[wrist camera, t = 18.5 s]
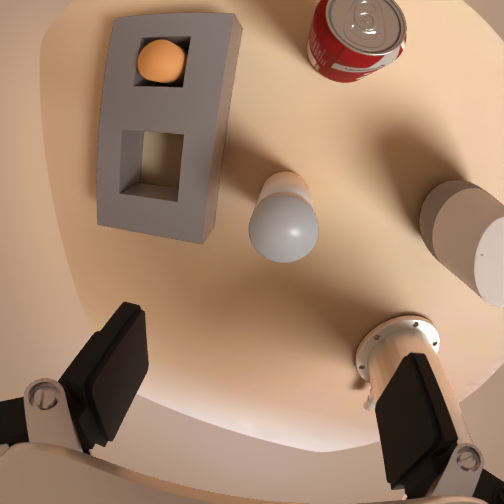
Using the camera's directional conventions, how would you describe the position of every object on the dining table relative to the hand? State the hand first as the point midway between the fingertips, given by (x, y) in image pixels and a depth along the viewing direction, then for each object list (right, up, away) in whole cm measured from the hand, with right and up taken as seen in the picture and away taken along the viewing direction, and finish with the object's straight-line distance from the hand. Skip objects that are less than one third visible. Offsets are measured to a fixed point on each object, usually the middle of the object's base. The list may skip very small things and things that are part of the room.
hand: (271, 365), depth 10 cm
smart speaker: (+22, +8, +21) cm, 31 cm away
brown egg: (-8, +23, +17) cm, 29 cm away
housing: (-9, +17, +20) cm, 28 cm away
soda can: (+8, +24, +15) cm, 29 cm away
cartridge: (+3, +10, +22) cm, 24 cm away
